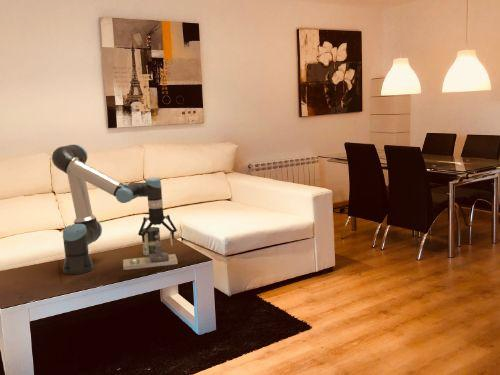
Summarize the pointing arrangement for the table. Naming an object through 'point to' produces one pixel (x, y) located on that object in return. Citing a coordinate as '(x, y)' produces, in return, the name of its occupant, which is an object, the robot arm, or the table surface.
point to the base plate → (147, 262)
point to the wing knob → (159, 254)
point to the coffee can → (151, 240)
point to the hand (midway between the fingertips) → (158, 246)
